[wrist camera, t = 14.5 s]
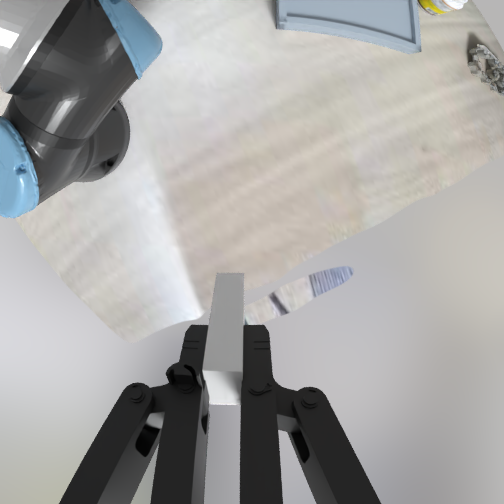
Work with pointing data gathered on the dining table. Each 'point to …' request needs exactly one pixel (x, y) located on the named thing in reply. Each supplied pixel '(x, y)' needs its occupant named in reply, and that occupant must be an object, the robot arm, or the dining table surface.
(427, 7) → the supplement bottle
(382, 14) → the blue-grey tray
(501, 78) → the egg carton
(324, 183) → the dining table surface
